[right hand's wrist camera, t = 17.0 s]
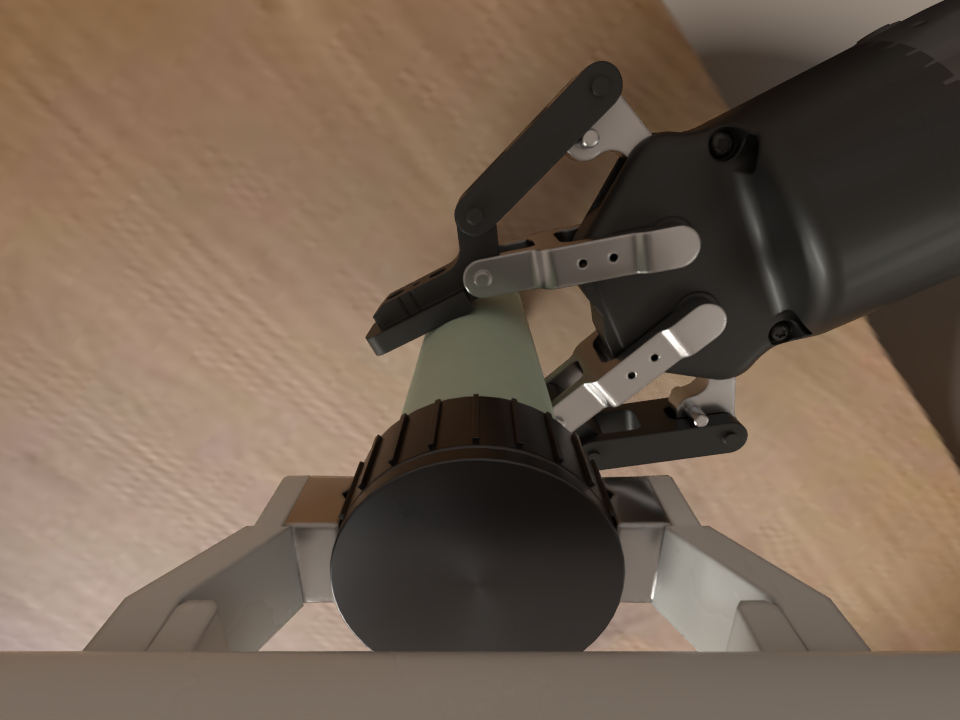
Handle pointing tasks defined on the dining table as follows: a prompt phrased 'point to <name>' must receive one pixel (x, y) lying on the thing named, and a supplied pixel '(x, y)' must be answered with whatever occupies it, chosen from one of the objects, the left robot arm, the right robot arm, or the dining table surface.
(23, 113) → the dining table surface
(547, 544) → the lid
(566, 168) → the dining table surface
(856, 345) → the dining table surface
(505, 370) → the green bottle
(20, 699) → the right robot arm
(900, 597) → the dining table surface
